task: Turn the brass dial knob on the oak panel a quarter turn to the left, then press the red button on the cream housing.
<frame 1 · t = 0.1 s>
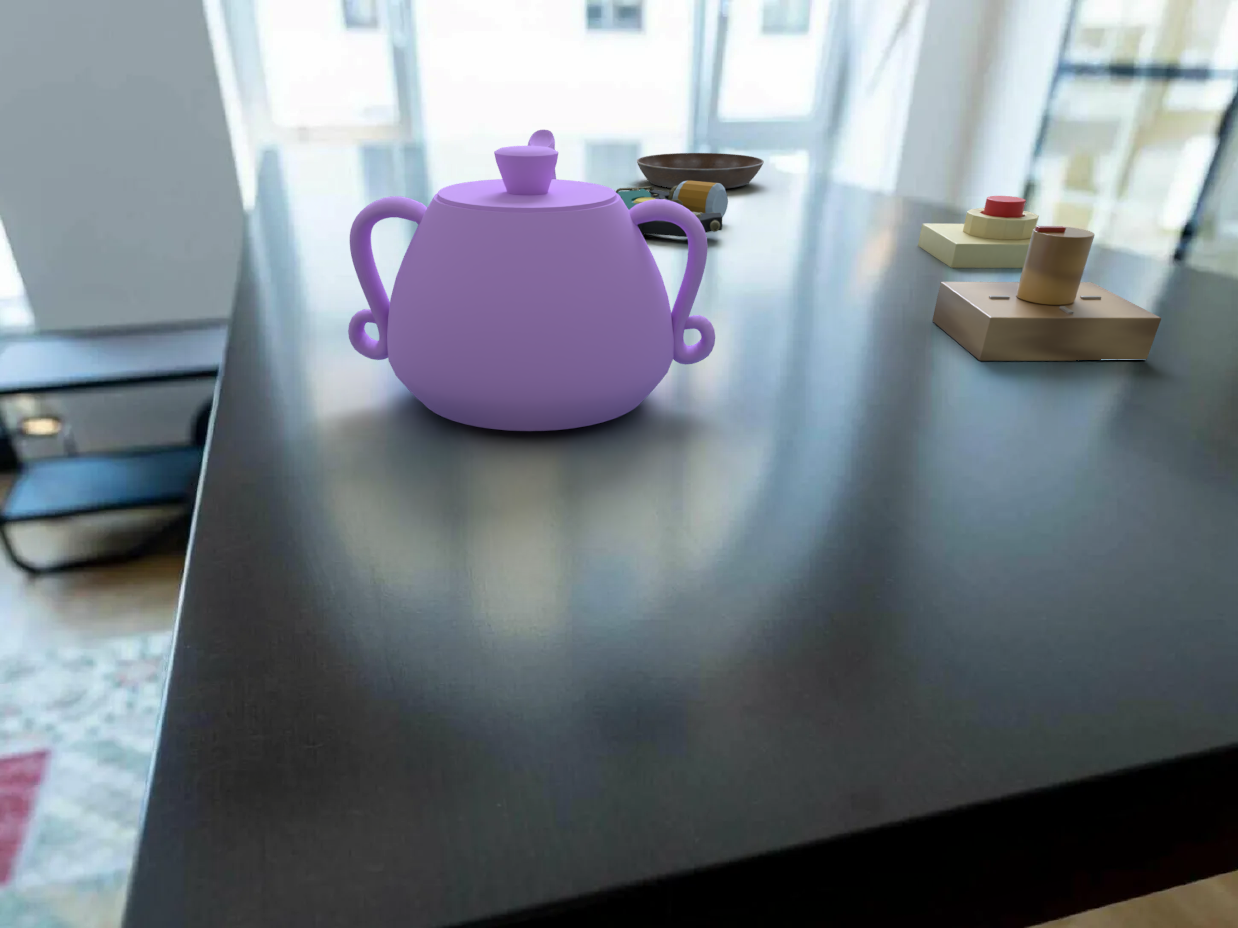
spray gun: (662, 229, 102), on the table
plant saucer: (698, 184, 128), on the table
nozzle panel: (1033, 340, 68), on the table
purple sugar bowl: (535, 388, 58), on the table
dial knob: (1054, 263, 65), point 5 cm above the table, hinge at 0.0°
button box: (992, 256, 91), on the table
button: (1004, 208, 88), point 4 cm above the table, slide at 0.1 cm
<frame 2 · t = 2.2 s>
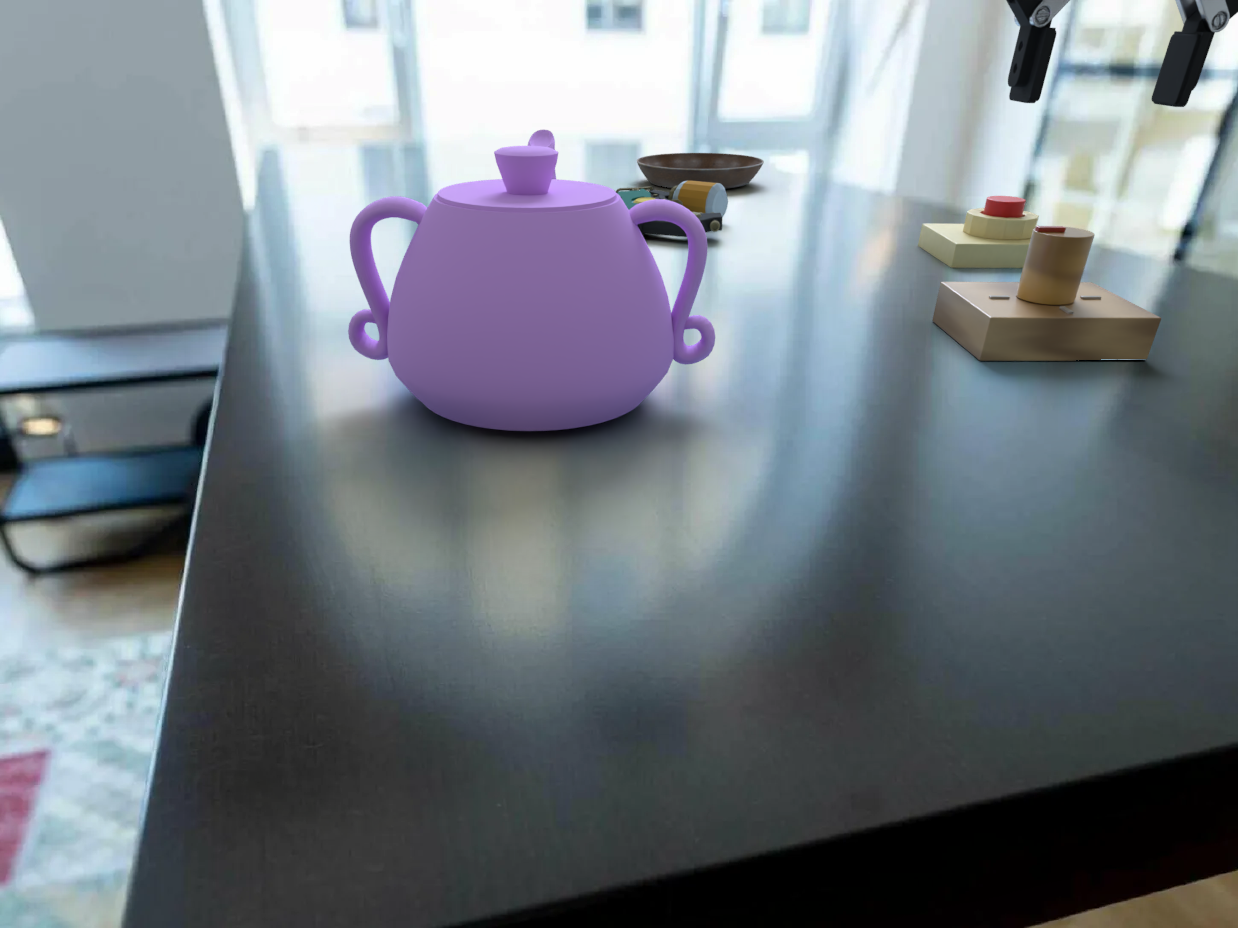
hand: (1095, 103, 59), 15 cm above the table, tool pointing down, fingers open, 9 cm apart
nothing on the table moved.
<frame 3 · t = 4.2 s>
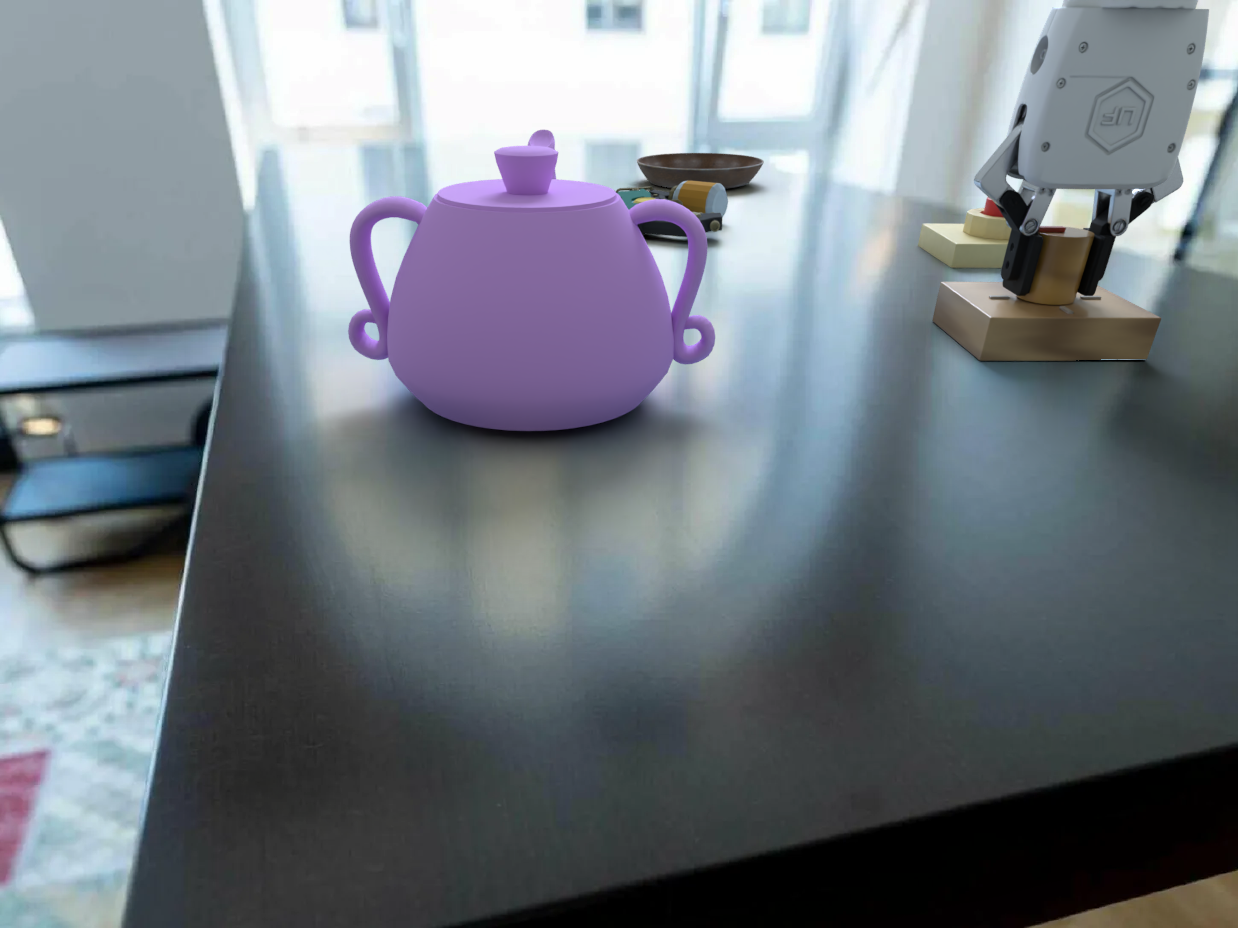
hand: (1047, 288, 66), 4 cm above the table, tool pointing down, fingers closed on dial knob, 4 cm apart
dial knob: (1054, 263, 65), point 5 cm above the table, hinge at -0.1°, touching gripper
everything else where it was.
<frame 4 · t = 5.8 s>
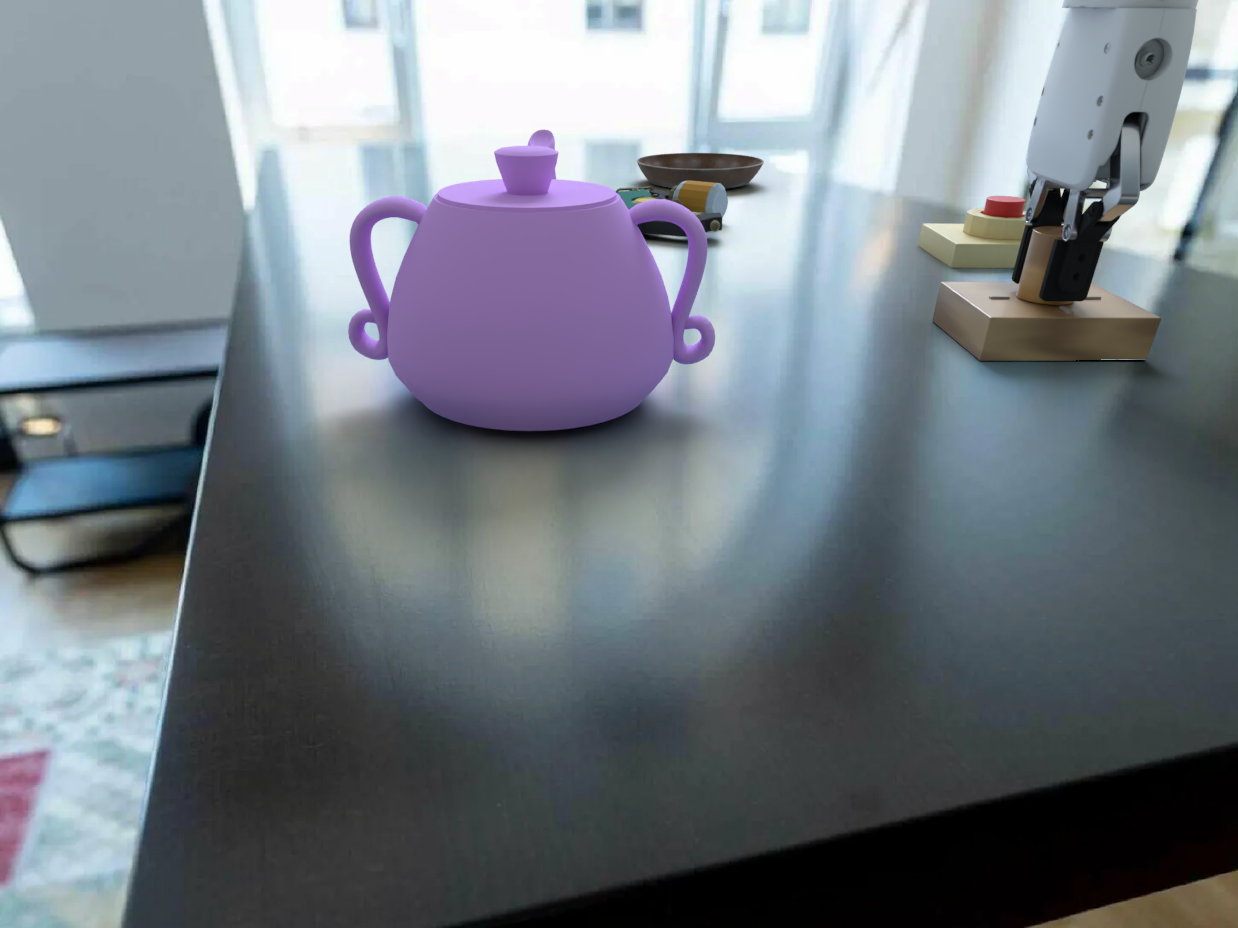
hand: (1047, 288, 66), 4 cm above the table, tool pointing down, fingers closed on dial knob, 4 cm apart
dial knob: (1054, 263, 65), point 5 cm above the table, hinge at 90.0°, touching gripper
everything else where it was.
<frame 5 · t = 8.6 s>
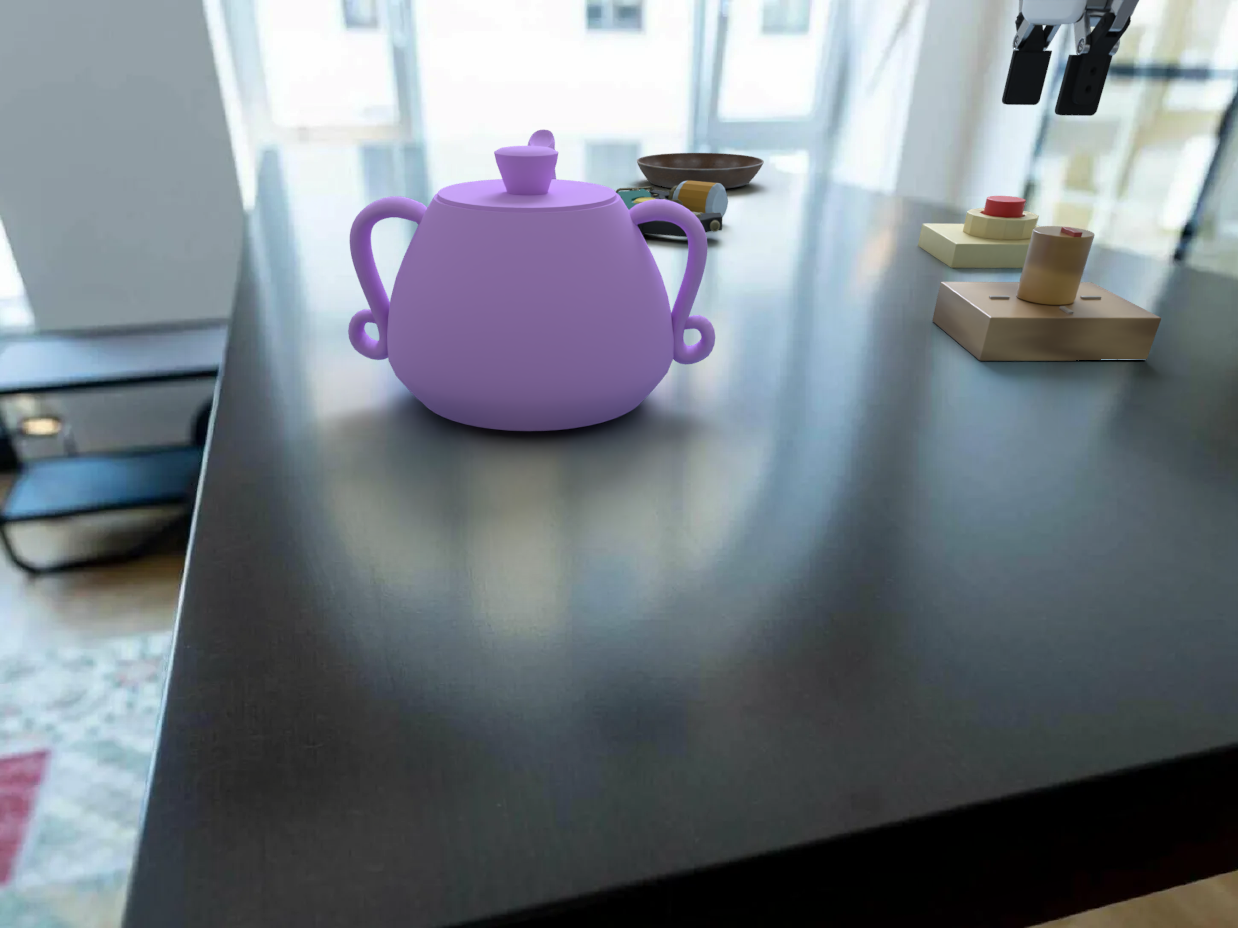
hand: (1045, 109, 76), 14 cm above the table, tool pointing down, fingers open, 9 cm apart
dial knob: (1054, 263, 65), point 5 cm above the table, hinge at 91.5°
everything else where it was.
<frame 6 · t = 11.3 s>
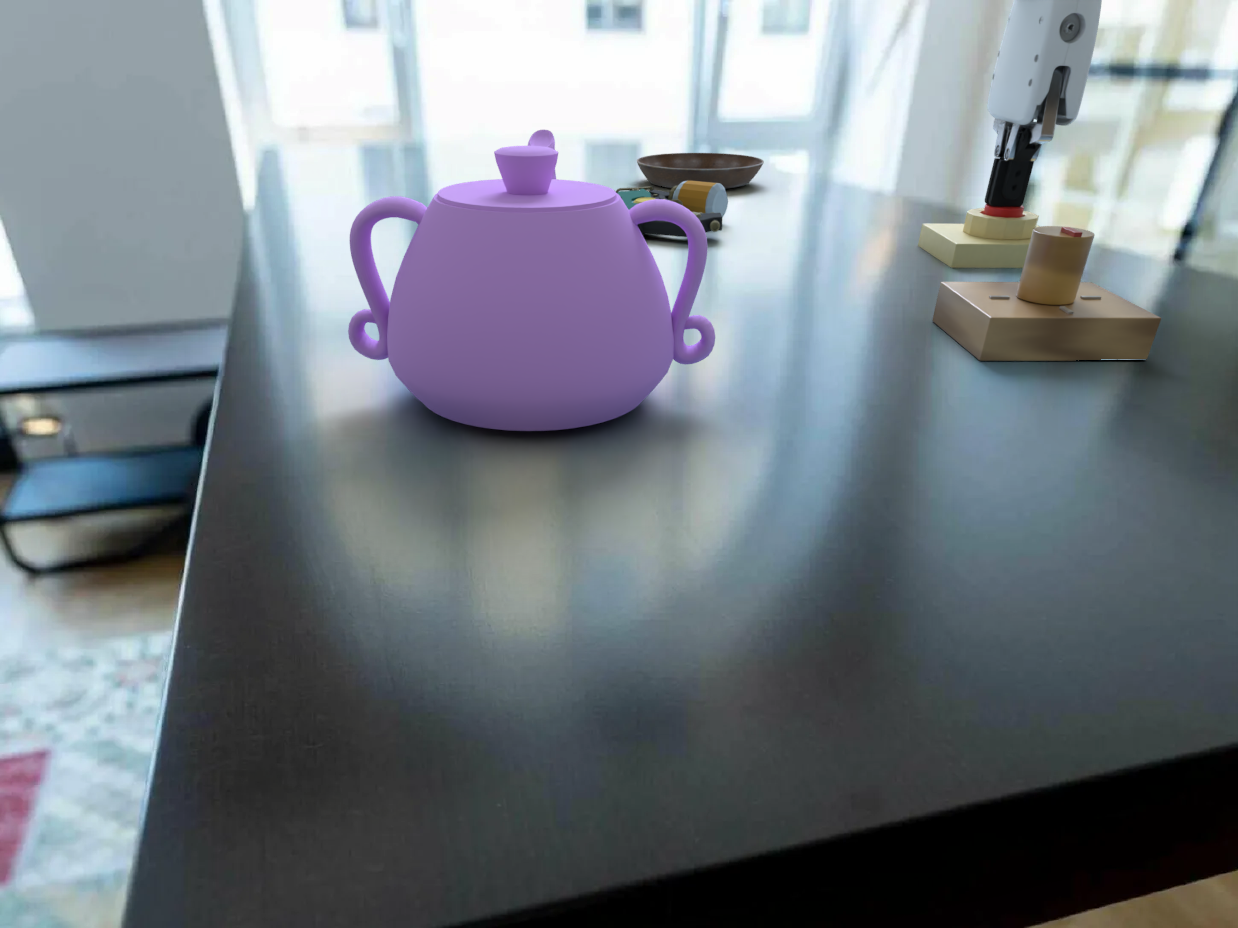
hand: (1002, 204, 88), 5 cm above the table, tool pointing down, fingers closed
button: (1002, 215, 89), point 4 cm above the table, slide at -0.5 cm, touching gripper
everything else where it was.
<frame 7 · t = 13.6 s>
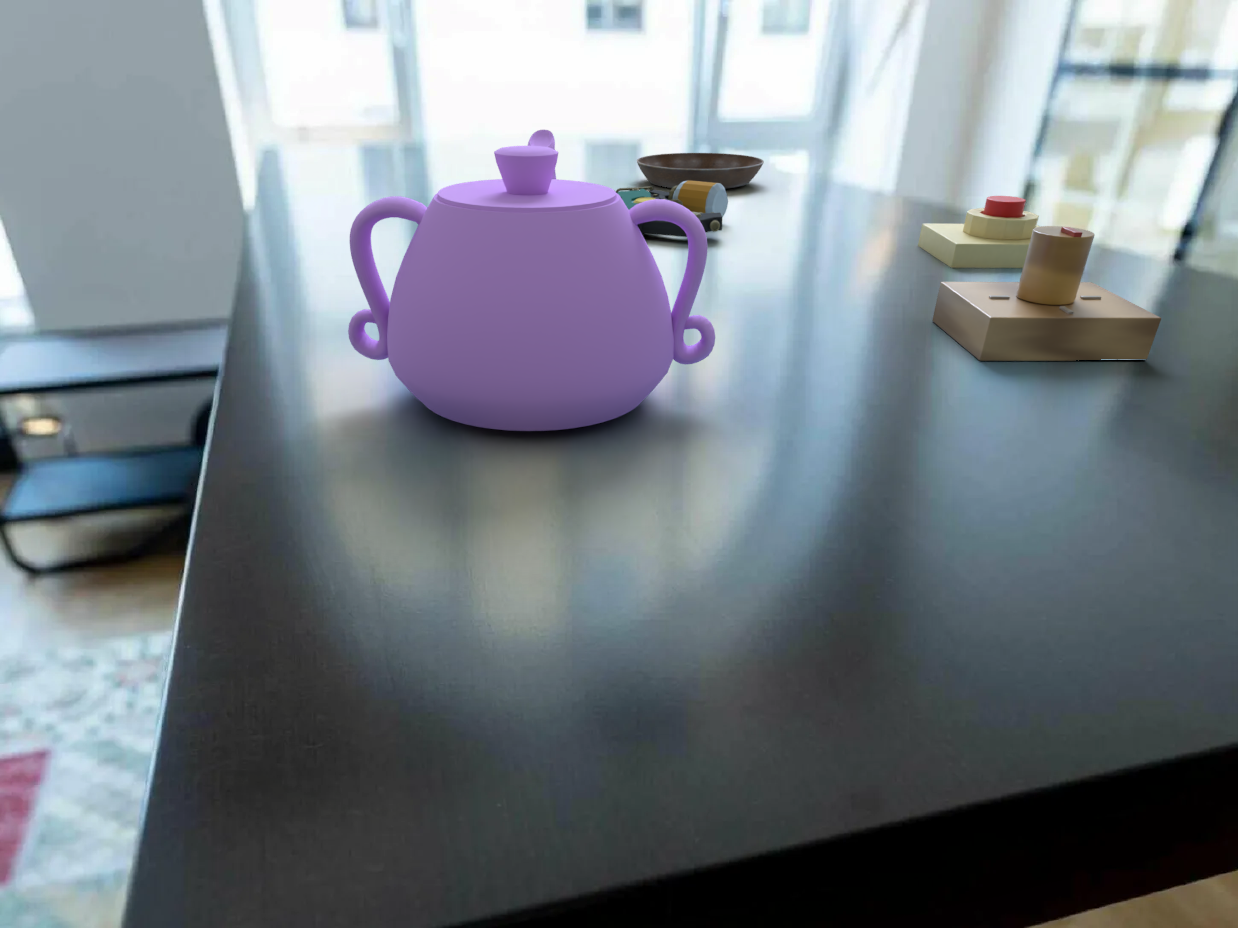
button: (1004, 208, 88), point 4 cm above the table, slide at 0.1 cm
everything else where it was.
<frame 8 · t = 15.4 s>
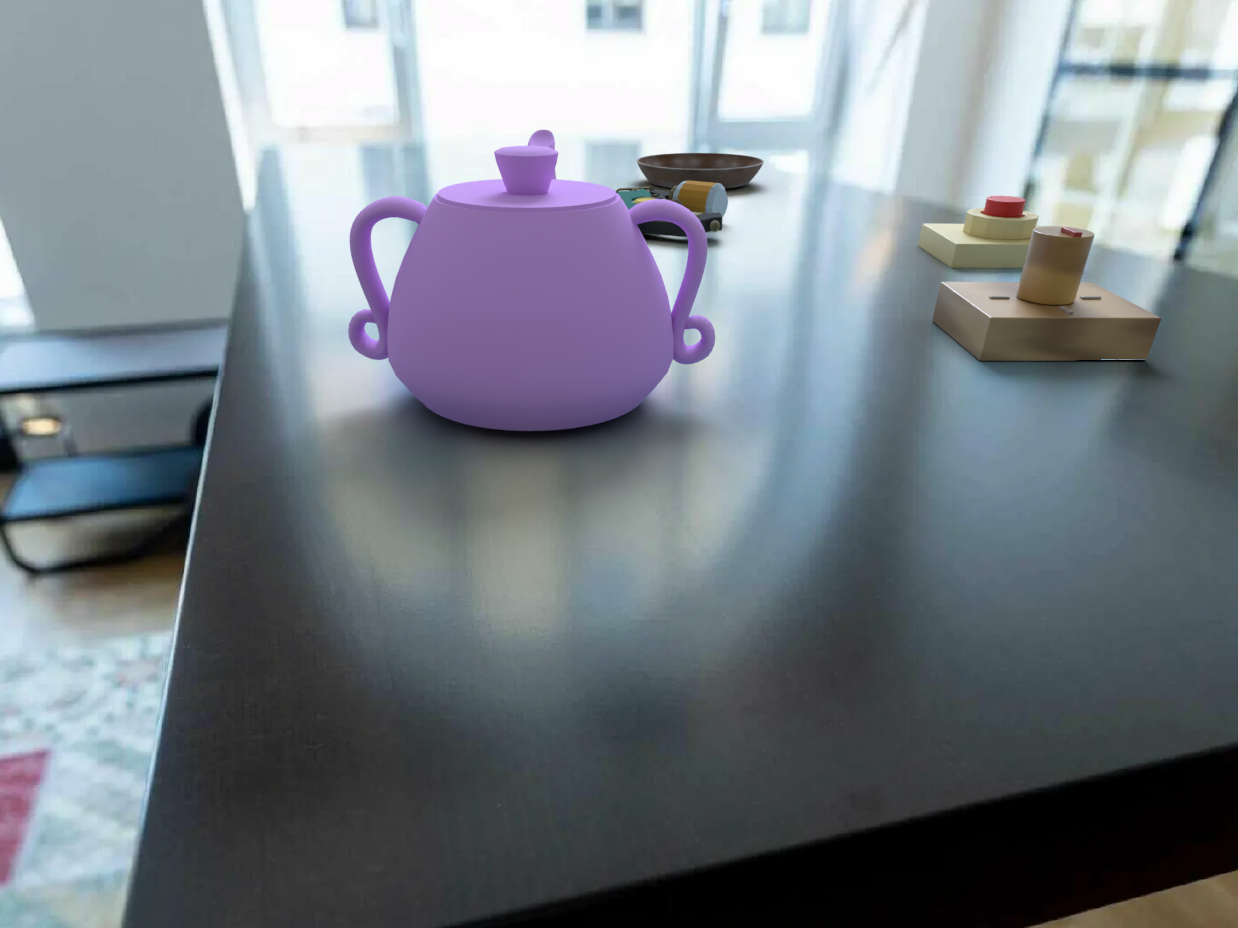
nothing on the table moved.
at the end: dial knob at +92° (first picture: +0°); button pushed in 1.1 cm at the most during the clip, back to where it started at the end; button slide at 0.1 cm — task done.
